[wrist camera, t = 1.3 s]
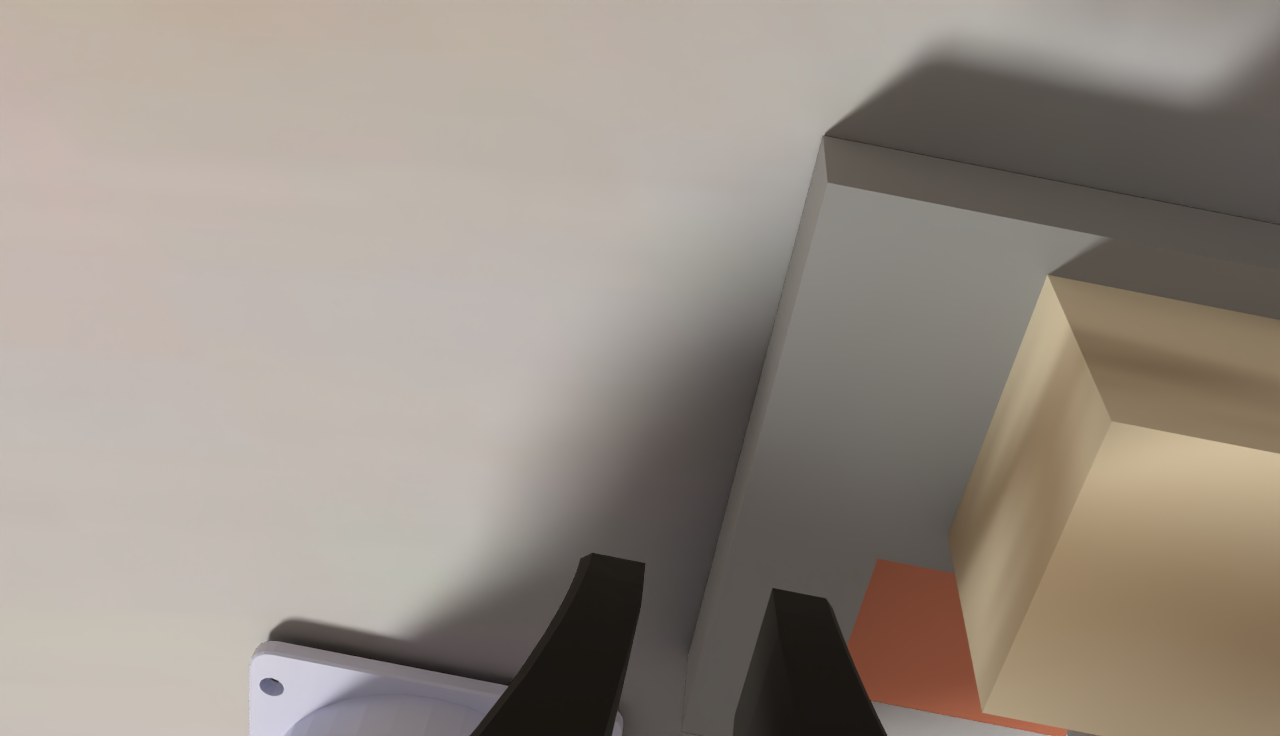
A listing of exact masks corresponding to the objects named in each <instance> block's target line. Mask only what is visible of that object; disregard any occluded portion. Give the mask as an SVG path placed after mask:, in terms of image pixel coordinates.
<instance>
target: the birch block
mask: <svg viewBox="0 0 1280 736" xmlns="http://www.w3.org/2000/svg"><path fill="white" fill-rule="evenodd" d="M948 541H949V546H950V551H951V556H952V562H953V567H954V572H955V577H956V582H957V587H958V592H959V597H960V602H961V607H962V612H963V618H964V623H965V628H966V633H967V638H968V643H969V648H970V653H971V658H972V663H973V668H974V674H975V679H976V684H977V689H978V694H979V699H980V704H981V709H982V713H986V714H991V715H996V716H1001V717H1007V718H1012V719H1017V720H1022V721H1027V722H1032V723H1038V724H1043V725H1048V726H1053V727H1058V728H1063V729H1069V730H1074V731H1079V732H1084V733H1089V734H1094V735H1100V736H1280V320H1277V319H1272V318H1266V317H1261V316H1256V315H1251V314H1246V313H1241V312H1236V311H1231V310H1226V309H1220V308H1215V307H1210V306H1205V305H1200V304H1195V303H1190V302H1185V301H1179V300H1174V299H1169V298H1164V297H1159V296H1154V295H1149V294H1144V293H1138V292H1133V291H1128V290H1123V289H1118V288H1113V287H1108V286H1103V285H1098V284H1092V283H1087V282H1082V281H1077V280H1072V279H1067V278H1062V277H1057V276H1051V275H1047V277H1046V280H1045V282H1044V285H1043V288H1042V290H1041V293H1040V295H1039V298H1038V301H1037V303H1036V306H1035V308H1034V311H1033V314H1032V316H1031V319H1030V322H1029V324H1028V327H1027V329H1026V332H1025V335H1024V337H1023V340H1022V342H1021V345H1020V348H1019V350H1018V353H1017V356H1016V358H1015V361H1014V363H1013V366H1012V369H1011V371H1010V374H1009V376H1008V379H1007V382H1006V384H1005V387H1004V390H1003V392H1002V395H1001V397H1000V400H999V403H998V405H997V408H996V410H995V413H994V416H993V418H992V421H991V423H990V426H989V429H988V431H987V434H986V437H985V439H984V442H983V444H982V447H981V450H980V452H979V455H978V457H977V460H976V463H975V465H974V468H973V471H972V473H971V476H970V478H969V481H968V484H967V486H966V489H965V491H964V494H963V497H962V499H961V502H960V505H959V507H958V510H957V512H956V515H955V518H954V520H953V523H952V525H951V528H950V531H949V533H948Z"/></svg>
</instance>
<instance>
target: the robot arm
mask: <svg viewBox="0 0 1280 736" xmlns="http://www.w3.org/2000/svg"><path fill="white" fill-rule="evenodd" d="M644 572H645V563H642V562H637V561H631V560H626V559H621V558H616V557H611V556H606V555H600V554H595V553H591V554H589V555H587V556H585V557H583V558H581V559H580V562H579V566H578V569H577V572H576V575H575V577H574V579H573V582H572V584H571V586H570V588H569V590H568V593H567V595H566V597H565V599H564V600H563V602H562V604H561V606H560V608H559V610H558V611H557V613H556V615H555V617H554V618H553V620H552V622H551V623H550V625H549V627H548V629H547V630H546V632H545V634H544V635H543V637H542V638H541V640H540V641H539V643H538V644H537V646H536V647H535V649H534V650H533V652H532V653H531V655H530V656H529V658H528V659H527V661H526V662H525V664H524V665H523V667H522V668H521V670H520V671H519V673H518V674H517V675H516V677H515V678H514V680H513V681H512V682H511V684H510V685H509V686H507V685H502V684H496V683H491V682H486V681H481V680H476V679H471V678H465V677H460V676H455V675H450V674H445V673H439V672H434V671H429V670H424V669H419V668H414V667H408V666H403V665H398V664H393V663H388V662H383V661H377V660H372V659H367V658H362V657H357V656H351V655H346V654H341V653H336V652H331V651H326V650H320V649H315V648H310V647H305V646H300V645H295V644H289V643H284V642H279V641H267V642H264V643H261V644H260V645H259V646H258V647H257V648H256V650H255V652H254V654H253V656H252V657H251V661H250V664H249V736H622V731H623V718H622V716H621V714H620V713H619V712H618V711H617V710H618V706H619V702H620V697H621V693H622V688H623V684H624V679H625V675H626V670H627V666H628V662H629V657H630V653H631V648H632V644H633V639H634V635H635V630H636V626H637V621H638V617H639V613H640V608H641V601H642V592H643V582H644ZM270 678H273V679H276V680H278V681H279V682H276V681H273V680H271V679H270ZM733 736H887V734H886V732H885V730H884V728H883V726H882V724H881V722H880V720H879V718H878V716H877V714H876V712H875V709H874V707H873V705H872V703H871V701H870V699H869V696H868V694H867V692H866V690H865V687H864V685H863V683H862V680H861V678H860V676H859V674H858V671H857V669H856V667H855V664H854V662H853V659H852V657H851V655H850V652H849V650H848V647H847V645H846V642H845V640H844V637H843V634H842V632H841V629H840V627H839V624H838V621H837V619H836V616H835V613H834V610H833V608H832V606H831V605H830V603H829V602H828V600H827V599H826V598H822V597H817V596H812V595H807V594H802V593H796V592H791V591H786V590H781V589H776V588H772V591H771V594H770V598H769V601H768V604H767V608H766V611H765V615H764V618H763V621H762V625H761V628H760V632H759V635H758V638H757V642H756V645H755V648H754V652H753V655H752V659H751V662H750V665H749V669H748V672H747V675H746V679H745V682H744V686H743V689H742V692H741V696H740V699H739V702H738V706H737V709H736V713H735V716H734V727H733Z"/></svg>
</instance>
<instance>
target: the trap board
mask: <svg viewBox="0 0 1280 736" xmlns="http://www.w3.org/2000/svg"><path fill="white" fill-rule="evenodd" d="M1047 275H1051V276H1057V277H1062V278H1067V279H1072V280H1077V281H1082V282H1087V283H1092V284H1098V285H1103V286H1108V287H1113V288H1118V289H1123V290H1128V291H1133V292H1138V293H1144V294H1149V295H1154V296H1159V297H1164V298H1169V299H1174V300H1179V301H1185V302H1190V303H1195V304H1200V305H1205V306H1210V307H1215V308H1220V309H1226V310H1231V311H1236V312H1241V313H1246V314H1251V315H1256V316H1261V317H1266V318H1272V319H1277V320H1280V225H1278V224H1273V223H1267V222H1262V221H1257V220H1252V219H1247V218H1242V217H1237V216H1232V215H1227V214H1222V213H1216V212H1211V211H1206V210H1201V209H1196V208H1191V207H1186V206H1181V205H1176V204H1170V203H1165V202H1160V201H1155V200H1150V199H1145V198H1140V197H1135V196H1130V195H1124V194H1119V193H1114V192H1109V191H1104V190H1099V189H1094V188H1089V187H1084V186H1078V185H1073V184H1068V183H1063V182H1058V181H1053V180H1048V179H1043V178H1038V177H1032V176H1027V175H1022V174H1017V173H1012V172H1007V171H1002V170H997V169H992V168H986V167H981V166H976V165H971V164H966V163H961V162H956V161H951V160H946V159H940V158H935V157H930V156H925V155H920V154H915V153H910V152H905V151H900V150H895V149H889V148H884V147H879V146H874V145H869V144H864V143H859V142H854V141H849V140H843V139H838V138H833V137H828V136H822V140H821V144H820V148H819V152H818V156H817V160H816V164H815V167H814V171H813V175H812V179H811V183H810V187H809V191H808V194H807V198H806V202H805V206H804V210H803V214H802V218H801V222H800V225H799V229H798V233H797V237H796V241H795V245H794V249H793V252H792V256H791V260H790V264H789V268H788V272H787V276H786V280H785V283H784V287H783V291H782V295H781V299H780V303H779V307H778V310H777V314H776V318H775V322H774V326H773V330H772V334H771V338H770V341H769V345H768V349H767V353H766V357H765V361H764V365H763V368H762V372H761V376H760V380H759V384H758V388H757V392H756V396H755V399H754V403H753V407H752V411H751V415H750V419H749V423H748V426H747V430H746V434H745V438H744V442H743V446H742V450H741V454H740V457H739V461H738V465H737V469H736V473H735V477H734V481H733V484H732V488H731V492H730V496H729V500H728V504H727V508H726V511H725V515H724V519H723V523H722V527H721V531H720V535H719V539H718V542H717V546H716V550H715V554H714V558H713V562H712V566H711V569H710V573H709V577H708V581H707V585H706V589H705V593H704V597H703V600H702V604H701V608H700V612H699V616H698V620H697V624H696V627H695V631H694V635H693V639H692V643H691V647H690V651H689V655H688V659H687V670H686V682H685V694H684V706H683V717H682V729H681V732H685V733H690V734H696V735H701V736H733V727H734V716H735V713H736V709H737V706H738V702H739V699H740V696H741V692H742V689H743V686H744V682H745V679H746V675H747V672H748V669H749V665H750V662H751V659H752V655H753V652H754V648H755V645H756V642H757V638H758V635H759V632H760V628H761V625H762V621H763V618H764V615H765V611H766V608H767V604H768V601H769V598H770V594H771V591H772V588H776V589H781V590H786V591H791V592H796V593H802V594H807V595H812V596H817V597H822V598H826V599H827V600H828V602H829V603H830V605H831V606H832V608H833V610H834V613H835V616H836V619H837V621H838V624H839V627H840V629H841V632H842V634H843V637H844V640H845V642H846V645H847V647H848V650H849V652H850V655H851V657H852V659H853V662H854V664H855V667H856V669H857V671H858V674H859V676H860V678H861V680H862V683H863V685H864V687H865V690H866V692H867V694H868V696H869V699H870V701H875V702H881V703H886V704H891V705H896V706H901V707H906V708H912V709H917V710H922V711H927V712H932V713H937V714H943V715H948V716H953V717H958V718H963V719H968V720H974V721H979V722H984V723H989V724H994V725H1000V726H1005V727H1010V728H1015V729H1020V730H1025V731H1031V732H1036V733H1041V734H1046V735H1051V736H1065V735H1066V733H1067V735H1068V736H1100V735H1094V734H1089V733H1084V732H1079V731H1074V730H1069V729H1063V728H1058V727H1053V726H1048V725H1043V724H1038V723H1032V722H1027V721H1022V720H1017V719H1012V718H1007V717H1001V716H996V715H991V714H986V713H982V709H981V704H980V699H979V694H978V689H977V684H976V679H975V674H974V668H973V663H972V658H971V653H970V648H969V643H968V638H967V633H966V628H965V623H964V618H963V612H962V607H961V602H960V597H959V592H958V587H957V582H956V577H955V572H954V567H953V562H952V556H951V551H950V546H949V541H948V533H949V531H950V528H951V525H952V523H953V520H954V518H955V515H956V512H957V510H958V507H959V505H960V502H961V499H962V497H963V494H964V491H965V489H966V486H967V484H968V481H969V478H970V476H971V473H972V471H973V468H974V465H975V463H976V460H977V457H978V455H979V452H980V450H981V447H982V444H983V442H984V439H985V437H986V434H987V431H988V429H989V426H990V423H991V421H992V418H993V416H994V413H995V410H996V408H997V405H998V403H999V400H1000V397H1001V395H1002V392H1003V390H1004V387H1005V384H1006V382H1007V379H1008V376H1009V374H1010V371H1011V369H1012V366H1013V363H1014V361H1015V358H1016V356H1017V353H1018V350H1019V348H1020V345H1021V342H1022V340H1023V337H1024V335H1025V332H1026V329H1027V327H1028V324H1029V322H1030V319H1031V316H1032V314H1033V311H1034V308H1035V306H1036V303H1037V301H1038V298H1039V295H1040V293H1041V290H1042V288H1043V285H1044V282H1045V280H1046V277H1047Z"/></svg>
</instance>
